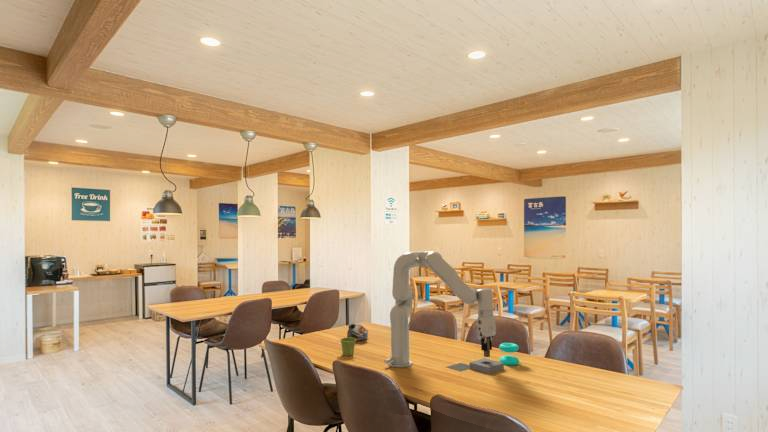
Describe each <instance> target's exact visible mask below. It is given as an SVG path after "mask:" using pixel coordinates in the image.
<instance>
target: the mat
mask: <svg viewBox="0 0 768 432" xmlns="http://www.w3.org/2000/svg"><path fill="white" fill-rule="evenodd" d="M445 368H447V369H450V370H454V371H458V372H460V373H461V372H463V371H464V372H465V371H467V370H471V369H470V364H467V363H462V362H459V363H456V364H452V365H449V366H445Z"/></svg>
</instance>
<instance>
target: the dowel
mask: <svg viewBox="0 0 768 432" xmlns="http://www.w3.org/2000/svg"><path fill="white" fill-rule="evenodd" d="M483 339H484V338H483ZM486 343H487V351H483V357H485V358H490V357H491V350H490V340H489V337H486Z"/></svg>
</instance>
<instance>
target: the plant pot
mask: <svg viewBox="0 0 768 432" xmlns="http://www.w3.org/2000/svg"><path fill="white" fill-rule="evenodd" d="M339 340H340V343H341V349H342V355H343V356H345V357H350V356H353V355H354V353H355V345H356V339H355V338H347V337H342V338H340V339H339Z"/></svg>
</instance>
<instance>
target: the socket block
mask: <svg viewBox="0 0 768 432" xmlns="http://www.w3.org/2000/svg"><path fill="white" fill-rule="evenodd" d="M469 365H470V369H469V370H472V371H475V372H479V373H483V374H487V375H491V374H495V373H497V372H500V371H504V370H505V365H504V363H501V362H500V361H498V360H492V359H488V358H486V357H485V358H481V359H477V360H474V361H470V362H469Z"/></svg>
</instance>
